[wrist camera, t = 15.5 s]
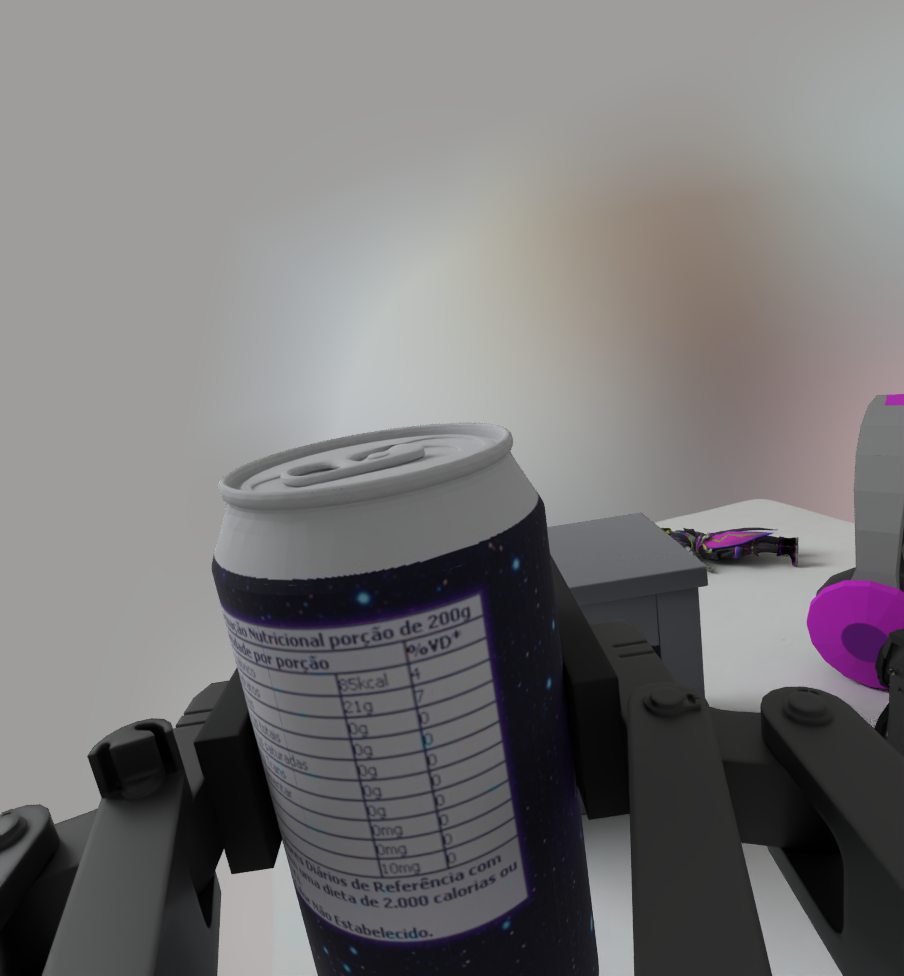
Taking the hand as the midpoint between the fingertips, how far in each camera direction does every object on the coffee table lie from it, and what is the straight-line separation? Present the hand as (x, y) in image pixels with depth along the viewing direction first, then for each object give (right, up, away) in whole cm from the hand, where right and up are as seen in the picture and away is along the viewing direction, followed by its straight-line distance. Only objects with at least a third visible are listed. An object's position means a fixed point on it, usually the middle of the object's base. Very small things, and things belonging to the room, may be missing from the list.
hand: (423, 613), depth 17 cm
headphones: (+38, -9, +34) cm, 52 cm away
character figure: (+32, -5, +54) cm, 63 cm away
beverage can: (+1, -8, -3) cm, 8 cm away
